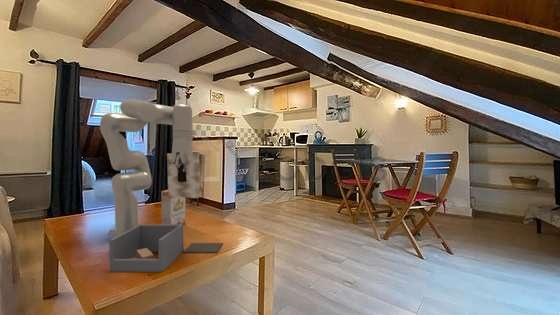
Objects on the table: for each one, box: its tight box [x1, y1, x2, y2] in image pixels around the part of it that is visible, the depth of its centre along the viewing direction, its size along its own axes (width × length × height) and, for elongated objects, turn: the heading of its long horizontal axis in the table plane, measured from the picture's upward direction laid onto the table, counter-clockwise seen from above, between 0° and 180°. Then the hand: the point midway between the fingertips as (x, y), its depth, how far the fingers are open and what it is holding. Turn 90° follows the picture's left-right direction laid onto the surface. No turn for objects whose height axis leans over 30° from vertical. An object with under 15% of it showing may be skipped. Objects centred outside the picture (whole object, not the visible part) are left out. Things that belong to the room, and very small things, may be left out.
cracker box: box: [160, 189, 186, 226], centre depth 143 cm, size 14×6×21 cm, turn 168°
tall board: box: [166, 152, 201, 199], centre depth 106 cm, size 12×3×18 cm, turn 87°
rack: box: [108, 224, 185, 273], centre depth 100 cm, size 18×19×11 cm
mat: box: [182, 242, 224, 254], centre depth 111 cm, size 14×10×1 cm
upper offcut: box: [136, 248, 155, 259], centre depth 96 cm, size 9×4×2 cm, turn 41°
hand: (184, 180), depth 106 cm, fingers closed on tall board, 3 cm apart
